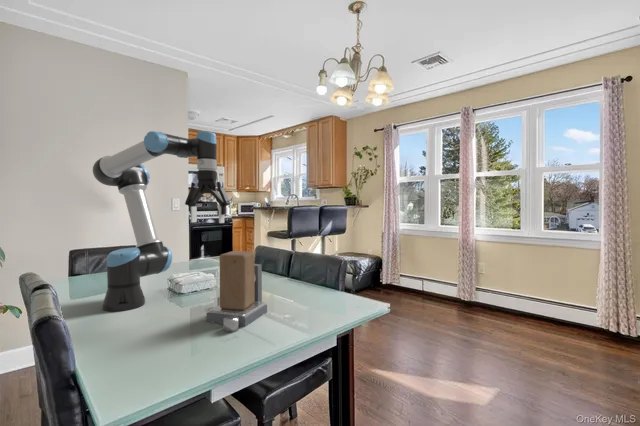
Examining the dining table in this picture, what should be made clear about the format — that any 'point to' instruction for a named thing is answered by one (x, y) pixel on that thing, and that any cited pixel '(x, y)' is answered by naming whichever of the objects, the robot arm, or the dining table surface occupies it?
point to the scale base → (258, 297)
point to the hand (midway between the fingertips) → (207, 222)
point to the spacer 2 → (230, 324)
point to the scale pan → (236, 312)
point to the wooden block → (237, 280)
